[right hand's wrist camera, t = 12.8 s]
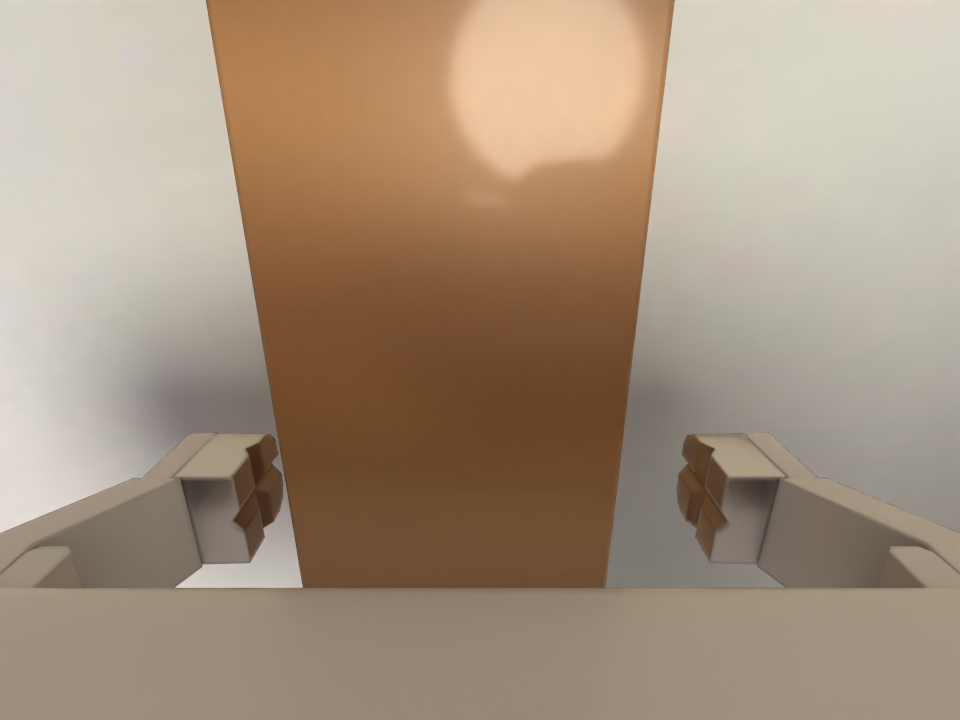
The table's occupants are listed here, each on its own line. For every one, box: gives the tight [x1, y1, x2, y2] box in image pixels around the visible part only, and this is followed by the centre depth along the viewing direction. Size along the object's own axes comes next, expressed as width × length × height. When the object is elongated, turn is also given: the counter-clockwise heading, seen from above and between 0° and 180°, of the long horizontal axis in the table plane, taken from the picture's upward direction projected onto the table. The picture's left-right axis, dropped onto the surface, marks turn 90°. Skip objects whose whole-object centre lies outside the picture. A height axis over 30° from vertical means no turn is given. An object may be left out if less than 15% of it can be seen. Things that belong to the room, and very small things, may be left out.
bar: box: [206, 0, 675, 588], centre depth 10 cm, size 25×6×9 cm, turn 0°
